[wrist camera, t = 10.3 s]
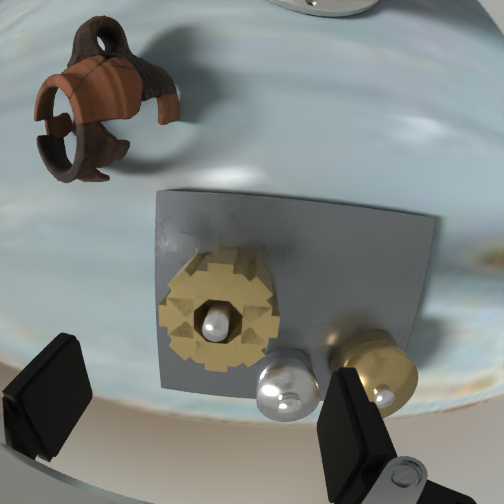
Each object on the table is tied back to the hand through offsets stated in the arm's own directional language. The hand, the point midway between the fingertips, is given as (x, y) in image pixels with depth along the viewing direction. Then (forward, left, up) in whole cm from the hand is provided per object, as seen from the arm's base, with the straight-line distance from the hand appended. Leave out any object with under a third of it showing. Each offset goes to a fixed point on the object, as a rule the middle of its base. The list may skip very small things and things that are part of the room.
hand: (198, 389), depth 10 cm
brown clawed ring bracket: (+3, -16, -13) cm, 21 cm away
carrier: (-3, +4, -13) cm, 14 cm away
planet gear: (+1, +1, -11) cm, 11 cm away
